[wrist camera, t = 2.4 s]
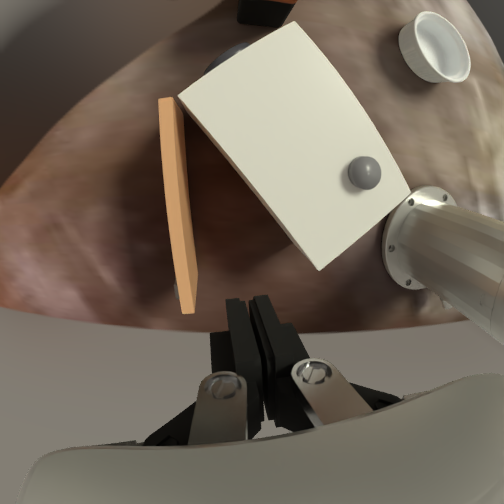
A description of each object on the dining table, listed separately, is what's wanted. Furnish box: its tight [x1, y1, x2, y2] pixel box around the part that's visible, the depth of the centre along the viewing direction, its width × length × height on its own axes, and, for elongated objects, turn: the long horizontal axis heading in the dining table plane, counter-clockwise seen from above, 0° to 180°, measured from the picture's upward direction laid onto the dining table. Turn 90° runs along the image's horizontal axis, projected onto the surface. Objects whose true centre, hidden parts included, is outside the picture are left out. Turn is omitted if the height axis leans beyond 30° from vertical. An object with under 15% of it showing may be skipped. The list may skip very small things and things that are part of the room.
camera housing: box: [178, 21, 411, 271], centre depth 22 cm, size 17×10×8 cm, turn 38°
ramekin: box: [399, 11, 470, 83], centre depth 22 cm, size 9×9×4 cm
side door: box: [158, 97, 198, 314], centre depth 22 cm, size 15×1×8 cm, turn 3°
